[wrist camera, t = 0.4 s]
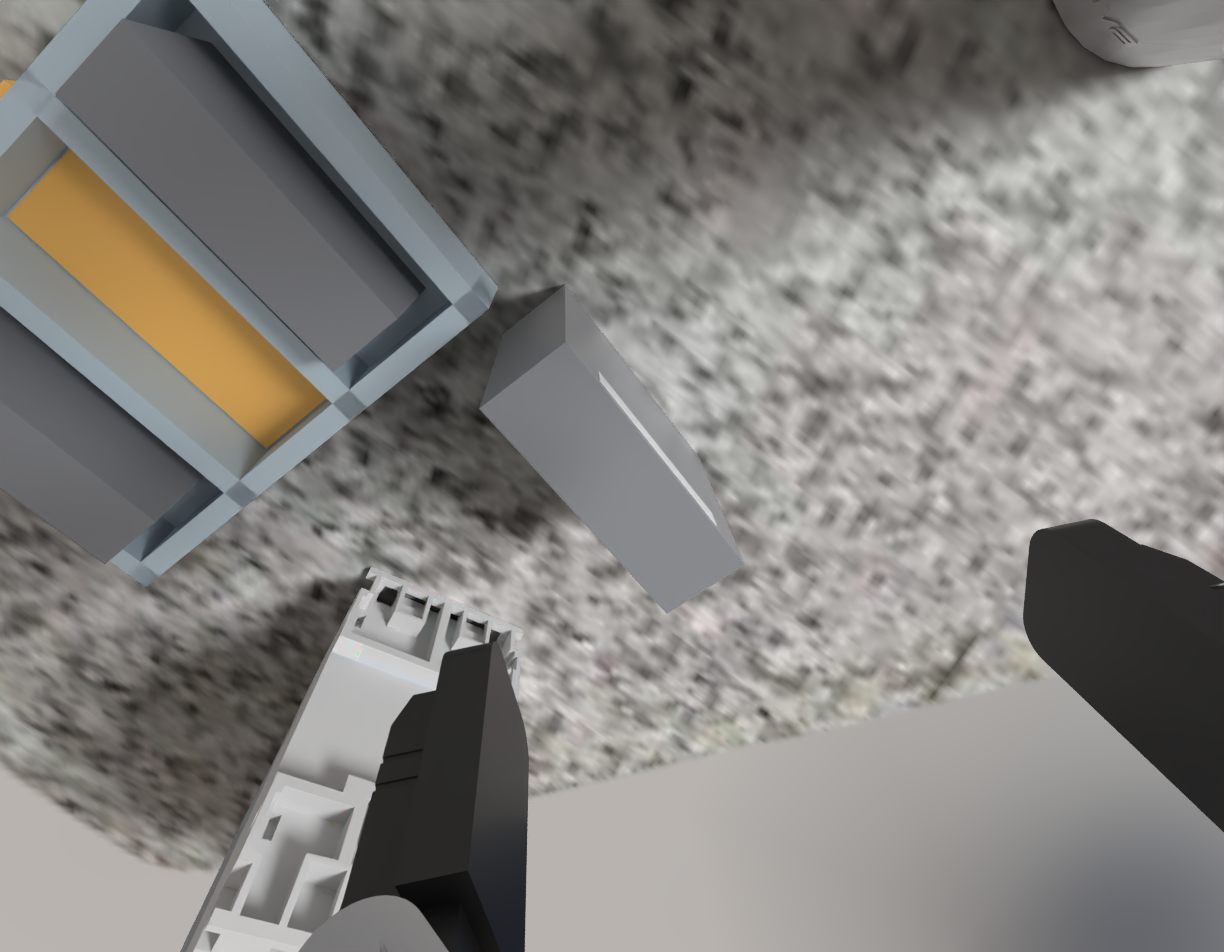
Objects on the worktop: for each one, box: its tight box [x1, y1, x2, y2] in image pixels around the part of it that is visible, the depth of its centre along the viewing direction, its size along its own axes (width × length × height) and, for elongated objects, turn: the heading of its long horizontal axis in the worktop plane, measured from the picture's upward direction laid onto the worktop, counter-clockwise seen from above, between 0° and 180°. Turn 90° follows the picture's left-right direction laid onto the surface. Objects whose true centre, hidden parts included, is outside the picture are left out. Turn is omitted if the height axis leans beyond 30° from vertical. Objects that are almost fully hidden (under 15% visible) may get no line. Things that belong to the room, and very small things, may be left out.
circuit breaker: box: [181, 567, 524, 952], centre depth 26 cm, size 8×14×15 cm, turn 149°
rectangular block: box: [479, 285, 745, 613], centre depth 23 cm, size 3×9×8 cm, turn 37°
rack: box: [0, 0, 498, 587], centre depth 22 cm, size 17×12×6 cm
